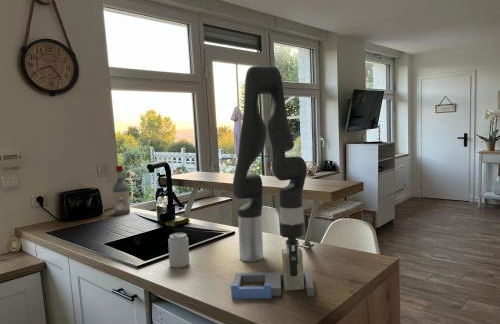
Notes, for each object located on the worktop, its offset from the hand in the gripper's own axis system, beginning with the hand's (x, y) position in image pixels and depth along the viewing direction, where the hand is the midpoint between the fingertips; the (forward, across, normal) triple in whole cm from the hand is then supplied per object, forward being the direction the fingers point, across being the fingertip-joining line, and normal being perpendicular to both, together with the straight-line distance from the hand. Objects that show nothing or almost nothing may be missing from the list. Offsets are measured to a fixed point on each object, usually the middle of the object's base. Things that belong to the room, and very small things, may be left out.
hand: (293, 270), depth 118 cm
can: (+5, -20, -42) cm, 47 cm away
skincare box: (+6, 0, 0) cm, 6 cm away
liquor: (+4, -108, -101) cm, 148 cm away
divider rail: (+6, +1, -7) cm, 9 cm away
